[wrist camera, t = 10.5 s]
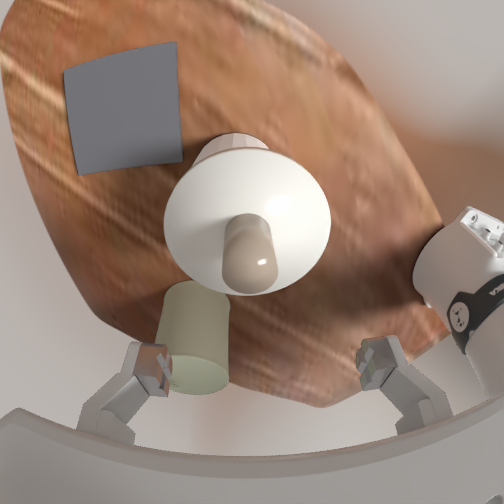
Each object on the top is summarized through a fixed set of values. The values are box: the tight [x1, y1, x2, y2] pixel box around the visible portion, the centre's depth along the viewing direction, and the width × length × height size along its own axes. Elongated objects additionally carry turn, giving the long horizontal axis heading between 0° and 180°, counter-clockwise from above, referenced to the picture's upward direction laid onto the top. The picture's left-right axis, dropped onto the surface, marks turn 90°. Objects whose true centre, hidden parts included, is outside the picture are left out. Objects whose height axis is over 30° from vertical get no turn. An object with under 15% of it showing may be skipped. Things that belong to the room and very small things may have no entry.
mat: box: [64, 42, 184, 175], centre depth 22 cm, size 12×12×1 cm
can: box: [155, 280, 230, 395], centre depth 33 cm, size 9×9×12 cm
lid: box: [164, 147, 331, 296], centre depth 17 cm, size 11×11×5 cm
